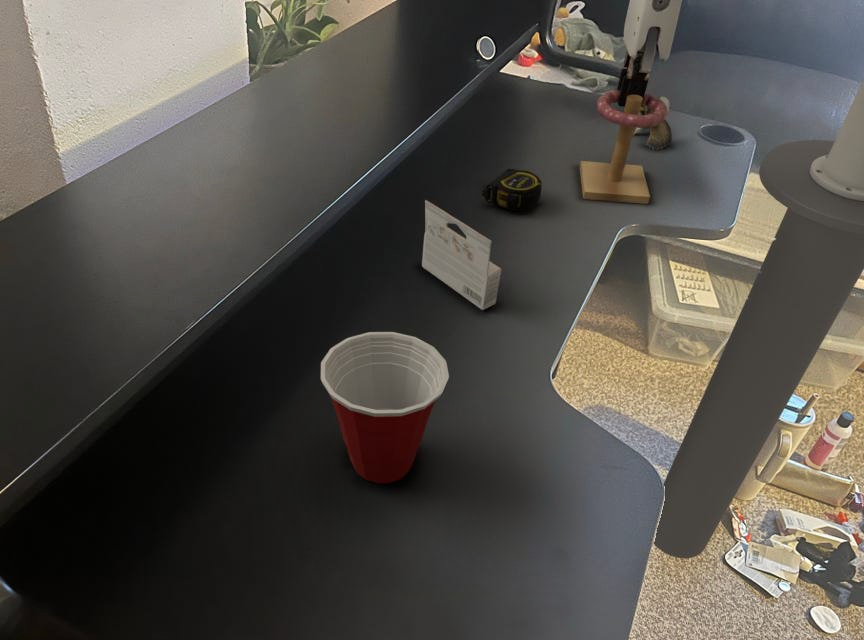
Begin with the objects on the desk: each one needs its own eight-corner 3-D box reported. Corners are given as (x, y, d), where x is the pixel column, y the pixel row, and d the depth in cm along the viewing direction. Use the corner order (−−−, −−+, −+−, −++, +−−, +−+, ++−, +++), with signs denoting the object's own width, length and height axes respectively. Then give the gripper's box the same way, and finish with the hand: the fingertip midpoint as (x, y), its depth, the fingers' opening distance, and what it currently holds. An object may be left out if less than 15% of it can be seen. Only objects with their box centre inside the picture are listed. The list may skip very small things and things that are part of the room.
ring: (660, 101, 103) (663, 90, 102) (670, 132, 96) (673, 120, 95) (593, 96, 104) (595, 85, 103) (599, 126, 97) (601, 115, 96)
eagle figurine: (611, 116, 121) (628, 132, 114) (642, 79, 118) (661, 91, 111) (645, 142, 124) (663, 158, 116) (676, 105, 121) (697, 120, 113)
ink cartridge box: (434, 260, 93) (440, 192, 86) (497, 304, 87) (508, 234, 80) (419, 267, 92) (424, 198, 85) (482, 312, 86) (491, 242, 79)
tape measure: (505, 185, 107) (509, 161, 104) (547, 201, 104) (551, 177, 101) (480, 204, 103) (483, 180, 100) (523, 221, 100) (527, 197, 97)
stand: (640, 172, 110) (664, 86, 101) (647, 204, 104) (674, 114, 95) (579, 168, 111) (598, 81, 102) (583, 199, 104) (603, 109, 95)
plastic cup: (444, 422, 73) (454, 330, 65) (434, 512, 65) (444, 421, 57) (336, 409, 74) (333, 318, 66) (314, 497, 66) (306, 405, 58)
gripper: (708, -23, 84) (663, 129, 97) (685, -60, 95) (648, 81, 108) (641, -27, 85) (605, 125, 97) (626, -63, 96) (596, 77, 109)
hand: (628, 101), depth 103 cm, fingers closed on ring, 2 cm apart
